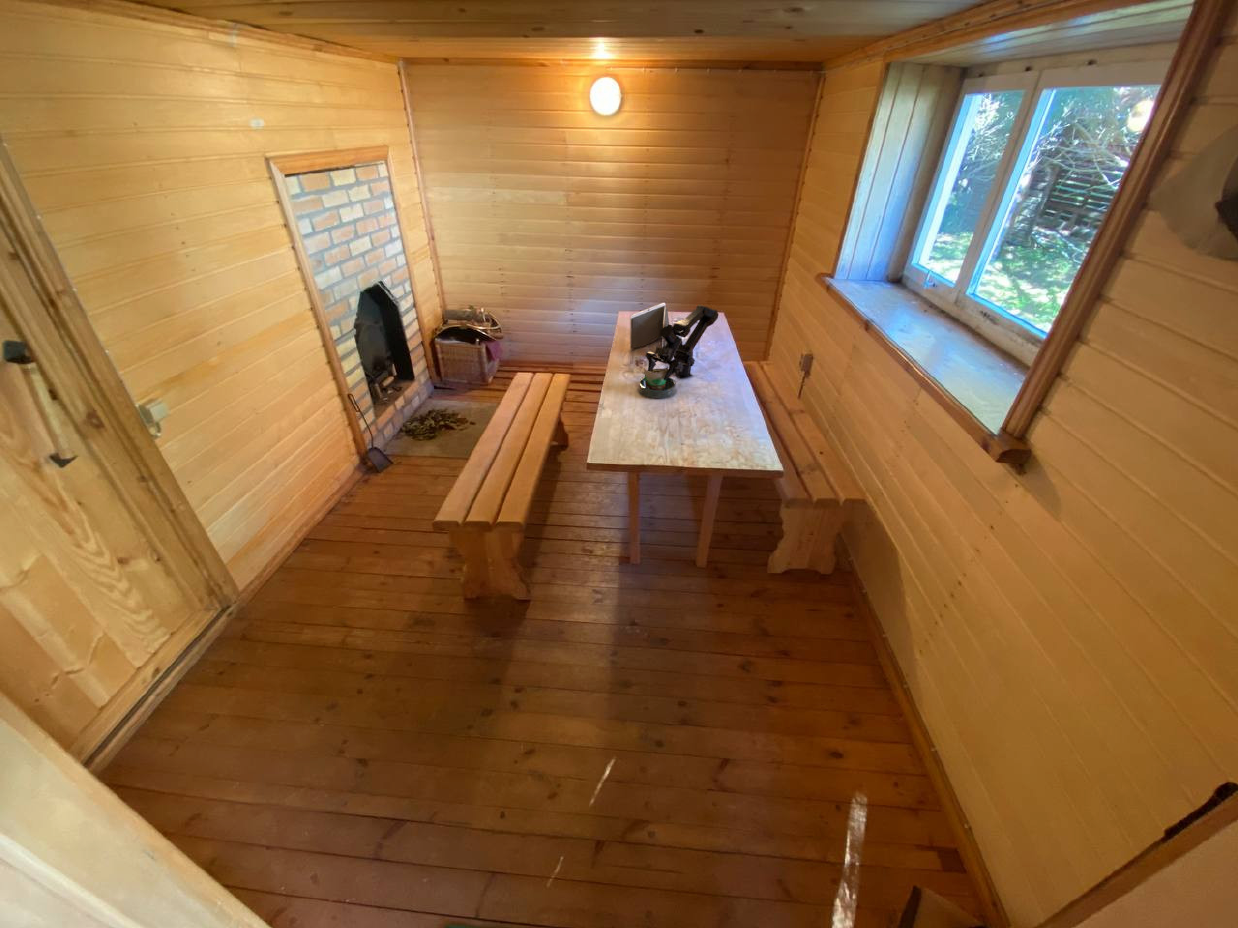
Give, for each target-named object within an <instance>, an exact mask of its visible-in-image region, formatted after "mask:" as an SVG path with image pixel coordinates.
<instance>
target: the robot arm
mask: <svg viewBox="0 0 1238 928" xmlns="http://www.w3.org/2000/svg"><path fill="white" fill-rule="evenodd" d="M718 318H719V312H718V310H717V309H714V308H711V307H710V308H709V307H707V306H706V305H702V304H699V305H697V306H696V308H694V310H693V311H692V312H690V313H689V314H688V315H687V316H686V317H685V318H683V319H681V320H680V319H679V320H678V321H676V322H674V323H673V324H670V323H669V324H668V325H667V326H666V327H664V328H662V329H661V331H660V335H661V337H660V338H662V340H663V339H664V341H665V342H666V343H667V344H666V346H663V347H662V346H661V347H660V346H656V347H655V350H654V352H652V351H647V352H645V355H644V357H645V358H646V360H647V363H648V365H647V366H648V367H647V371H649V370H653V369H655V367H656V366H657V362H659V363H662V364H666V365H669V366H668V371H667V373H666V375H665V377H664V380H666V379H668V378H669V377H670V378H671V377H672V376H673V375H674V374H675V375H676V376H677V377H678V378H680V379H685V378H691V377H693V375H692V373H691V370H692V367H693V366H694V365H695V361H696V360H695V358H694V349H695V348H696V346H697V344H698V343H699V341H700V340H701V338H702V336H703V335H704V333H705V332H706V330H707V329H708V328H709V327H710V326H713V325H714V323H716V321H717V320H718ZM696 323H697V324H696ZM695 324H696V326H695V327H694V329H693V330H692V332H691V329H692V327H693V326H694V325H695ZM690 332H691V334H690ZM689 334H690V335H689ZM688 335H689V337H688ZM686 337H688V338H687V340H686V341H685V343H683V339H682V338H686Z"/></svg>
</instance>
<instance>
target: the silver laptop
mask: <svg viewBox="0 0 1238 928" xmlns="http://www.w3.org/2000/svg"><path fill="white" fill-rule="evenodd" d="M668 324H670V319H669V312H668V308H667V305H666V302H662V303H659V304H656V305H654V306H651V307H648V308H646V309H644V310H641V311H638V312H636V313H634V314H633V313H632V314H631V315H630V317H629V349H630V350H633V349H637V348H641V347H643V346H647V345H649V344H651V343H654V342H655V341H658V340H659V339H660V338H662V337H661V335H660V331H661V329H662V328H664V327H666V326H667V325H668ZM661 344H662V346H661V348H662V347H663V346H666V344H667V343H666V342H665V341H664V339H663V338H662V343H661Z"/></svg>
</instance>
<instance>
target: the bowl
mask: <svg viewBox="0 0 1238 928" xmlns="http://www.w3.org/2000/svg"><path fill="white" fill-rule="evenodd" d="M676 387H677V382H676V380H675V379H674V378H672V377H671V376H670V377H669V378H668V379H666V384H665V389H664V390H660V391H657V390H650V389H647V388H646V385H645V376H644V377H642V378H640V379H639V381H638V391H639V393H640V394H641V395H643V396H645V397H647V398H650V399H666V398H669V397H672V396H673V395H675V393H676V389H677V388H676Z"/></svg>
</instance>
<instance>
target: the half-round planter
mask: <svg viewBox="0 0 1238 928" xmlns="http://www.w3.org/2000/svg"><path fill="white" fill-rule="evenodd" d="M668 369H669V366H666V367H664V368H653V370H649V371H648V370H646V369H643V372H642V375H644V377H645V385H646V388H647V389H650V390H657V391H660V390H664V389H665V384H666V380H664V377H665V375H666V373H667V371H668Z"/></svg>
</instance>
